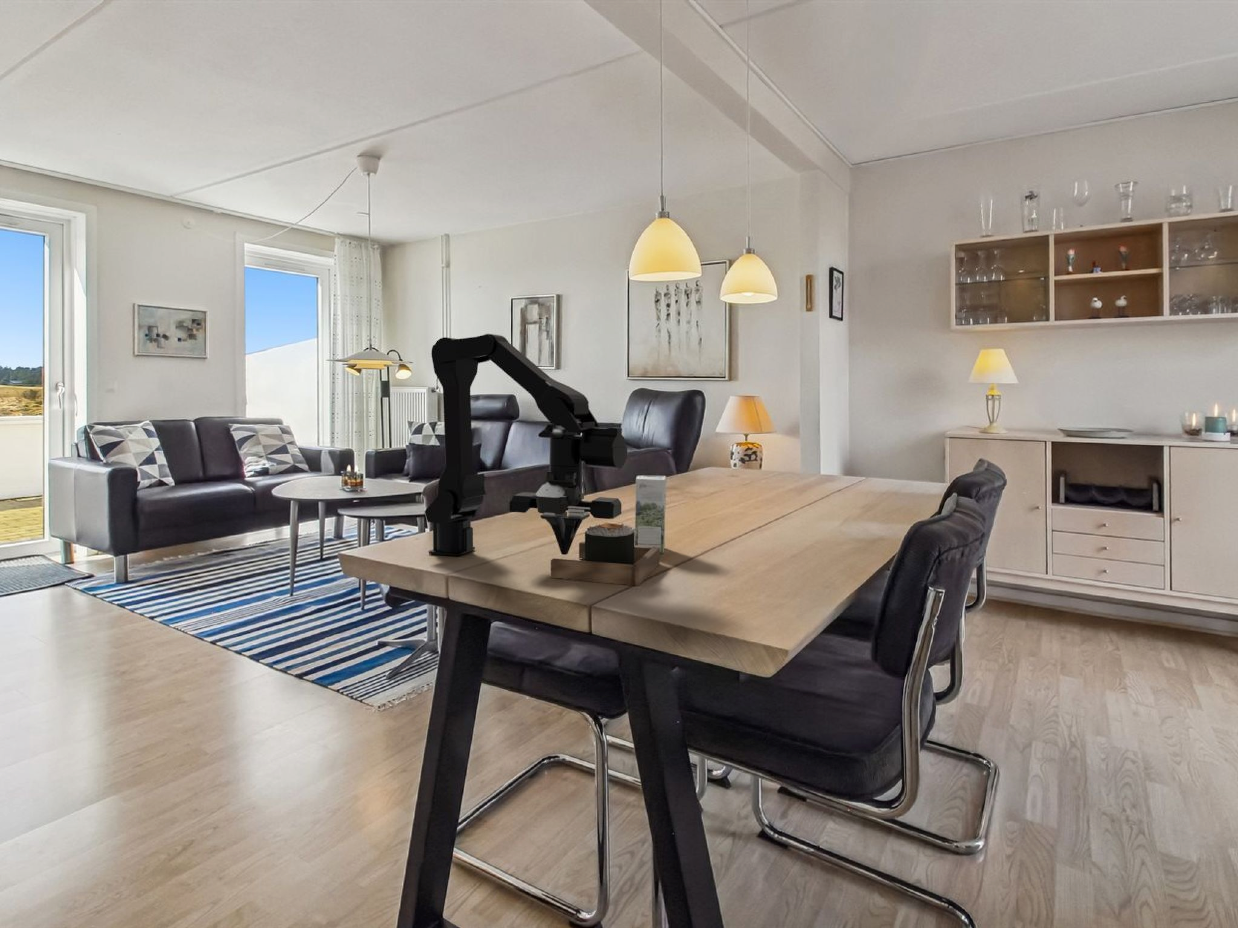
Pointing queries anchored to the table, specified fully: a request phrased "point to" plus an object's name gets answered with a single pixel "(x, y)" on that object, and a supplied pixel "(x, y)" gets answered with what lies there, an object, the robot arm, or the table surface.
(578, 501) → the robot arm
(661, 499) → the syrup box
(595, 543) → the sushi
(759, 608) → the table surface
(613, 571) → the tray
